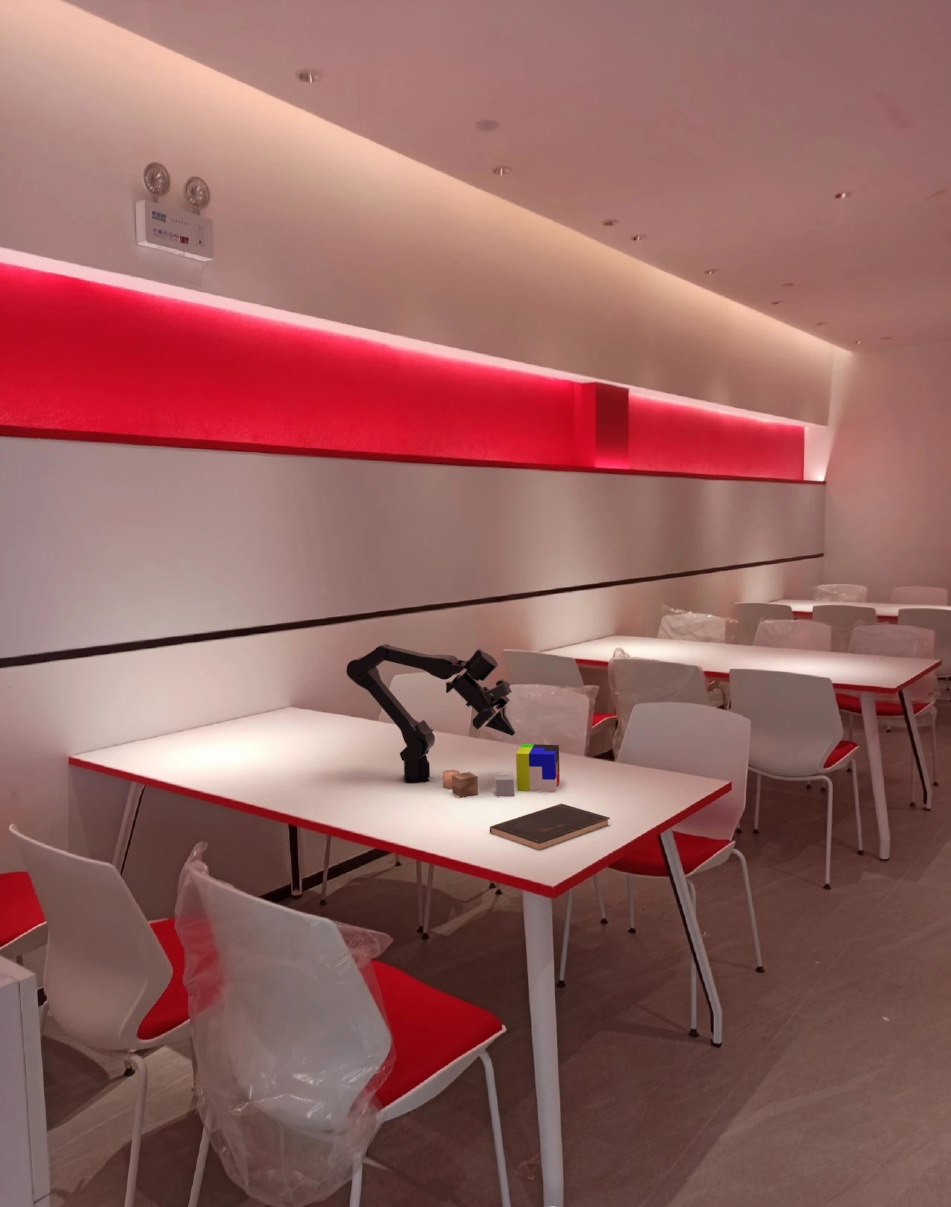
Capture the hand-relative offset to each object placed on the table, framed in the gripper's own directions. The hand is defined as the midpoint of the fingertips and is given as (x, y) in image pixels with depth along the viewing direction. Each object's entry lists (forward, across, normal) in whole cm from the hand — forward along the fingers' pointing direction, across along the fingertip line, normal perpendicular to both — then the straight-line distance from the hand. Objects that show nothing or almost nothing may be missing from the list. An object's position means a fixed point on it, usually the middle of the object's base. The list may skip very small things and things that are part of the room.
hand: (514, 734), depth 250 cm
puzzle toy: (+14, 0, +6) cm, 15 cm away
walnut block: (+2, -10, +17) cm, 20 cm away
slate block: (+9, -8, +10) cm, 16 cm away
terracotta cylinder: (-2, -5, +21) cm, 22 cm away
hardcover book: (+22, -33, -1) cm, 39 cm away
